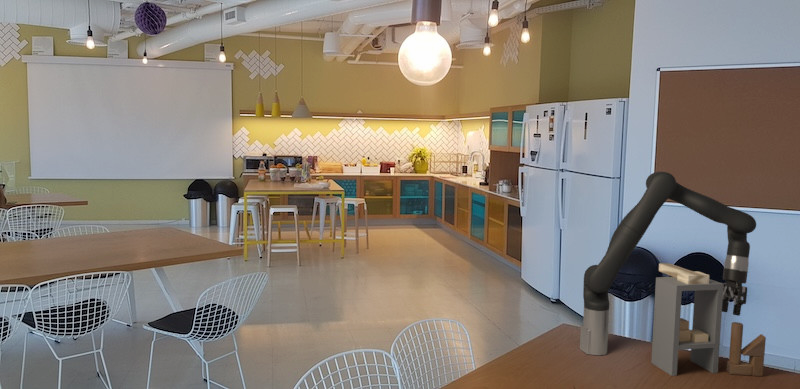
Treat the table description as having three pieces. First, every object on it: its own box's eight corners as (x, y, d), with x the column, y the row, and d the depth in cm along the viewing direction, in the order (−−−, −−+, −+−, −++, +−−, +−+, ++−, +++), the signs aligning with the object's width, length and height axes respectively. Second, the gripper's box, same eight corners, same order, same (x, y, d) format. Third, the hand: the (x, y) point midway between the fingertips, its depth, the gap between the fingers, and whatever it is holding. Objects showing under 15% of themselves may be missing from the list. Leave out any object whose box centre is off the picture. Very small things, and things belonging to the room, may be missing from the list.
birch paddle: (688, 284, 206) (688, 275, 206) (653, 271, 226) (654, 263, 226) (708, 283, 208) (709, 275, 208) (672, 270, 227) (673, 263, 227)
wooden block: (763, 376, 208) (766, 326, 206) (730, 374, 209) (733, 324, 208) (758, 372, 212) (762, 323, 210) (726, 370, 213) (729, 321, 211)
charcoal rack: (671, 375, 208) (676, 285, 205) (651, 362, 219) (656, 277, 216) (717, 372, 211) (723, 283, 208) (695, 360, 223) (700, 275, 219)
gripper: (715, 265, 223) (709, 309, 223) (735, 268, 209) (729, 314, 208) (735, 269, 223) (730, 312, 222) (757, 272, 209) (751, 318, 208)
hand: (729, 313), depth 215 cm, fingers open, 8 cm apart
